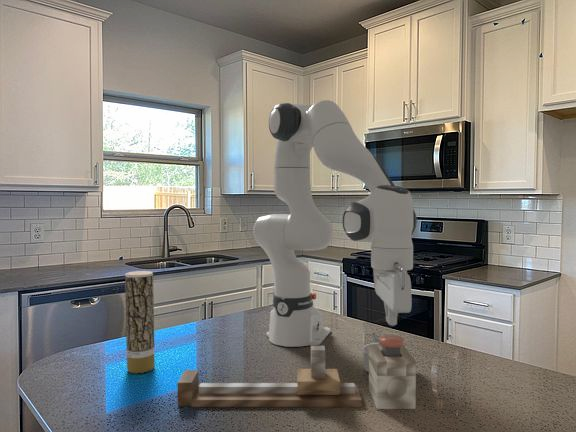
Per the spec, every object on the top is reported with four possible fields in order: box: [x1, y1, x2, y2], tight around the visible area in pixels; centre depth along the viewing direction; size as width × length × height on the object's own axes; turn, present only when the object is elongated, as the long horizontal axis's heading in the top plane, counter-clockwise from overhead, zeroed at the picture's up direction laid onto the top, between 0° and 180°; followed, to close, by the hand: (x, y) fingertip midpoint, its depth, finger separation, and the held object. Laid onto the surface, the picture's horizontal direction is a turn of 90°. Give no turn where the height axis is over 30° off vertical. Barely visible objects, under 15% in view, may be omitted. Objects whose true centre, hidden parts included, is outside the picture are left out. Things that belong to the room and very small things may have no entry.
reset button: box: [378, 334, 405, 357], centre depth 97 cm, size 5×5×4 cm
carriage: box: [296, 345, 341, 395], centre depth 98 cm, size 9×7×9 cm
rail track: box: [176, 345, 417, 410], centre depth 98 cm, size 50×10×10 cm, turn 89°
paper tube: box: [124, 270, 156, 374], centre depth 114 cm, size 7×7×25 cm
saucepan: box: [361, 332, 409, 373], centre depth 117 cm, size 12×20×6 cm, turn 1°
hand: (391, 323), depth 97 cm, fingers closed
